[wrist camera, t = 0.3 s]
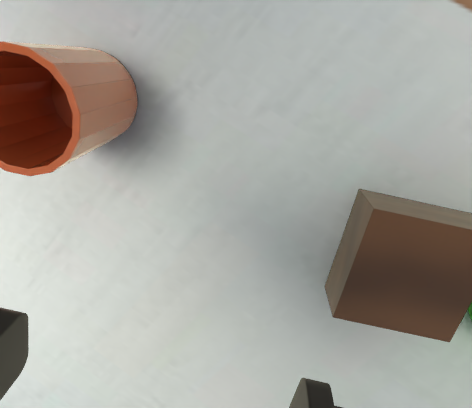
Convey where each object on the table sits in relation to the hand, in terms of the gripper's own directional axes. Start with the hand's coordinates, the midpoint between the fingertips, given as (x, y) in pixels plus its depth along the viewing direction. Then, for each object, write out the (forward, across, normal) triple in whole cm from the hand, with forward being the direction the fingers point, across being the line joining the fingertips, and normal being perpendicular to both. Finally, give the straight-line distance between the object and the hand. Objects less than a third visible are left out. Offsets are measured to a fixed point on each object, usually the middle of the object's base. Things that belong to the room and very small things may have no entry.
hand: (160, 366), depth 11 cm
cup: (+19, +10, -3) cm, 22 cm away
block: (+19, -15, +4) cm, 24 cm away
